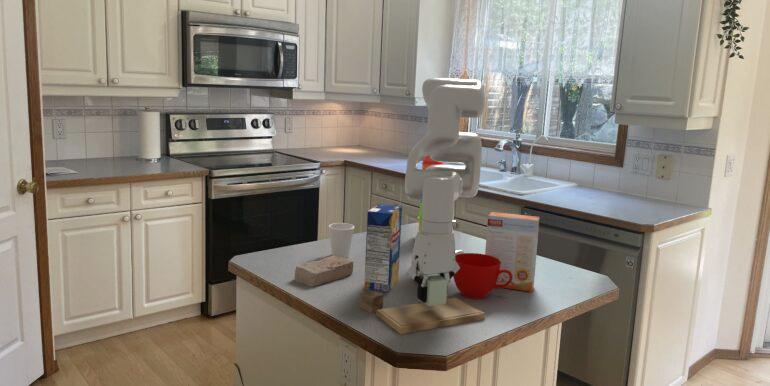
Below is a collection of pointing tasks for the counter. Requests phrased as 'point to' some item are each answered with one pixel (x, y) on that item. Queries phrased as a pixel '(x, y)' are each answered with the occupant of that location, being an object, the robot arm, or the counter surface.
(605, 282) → the counter surface
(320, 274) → the brick
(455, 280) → the ceramic cup
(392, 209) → the beverage box
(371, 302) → the walnut block
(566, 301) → the counter surface
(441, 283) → the sage block
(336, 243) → the dixie cup
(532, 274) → the cracker box
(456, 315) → the cutting board
